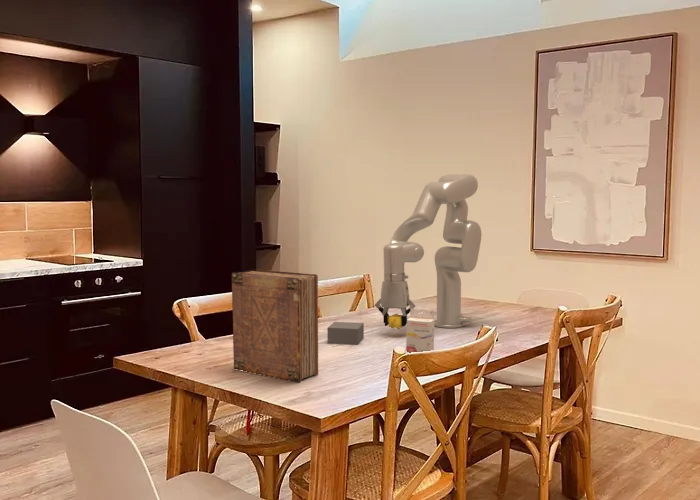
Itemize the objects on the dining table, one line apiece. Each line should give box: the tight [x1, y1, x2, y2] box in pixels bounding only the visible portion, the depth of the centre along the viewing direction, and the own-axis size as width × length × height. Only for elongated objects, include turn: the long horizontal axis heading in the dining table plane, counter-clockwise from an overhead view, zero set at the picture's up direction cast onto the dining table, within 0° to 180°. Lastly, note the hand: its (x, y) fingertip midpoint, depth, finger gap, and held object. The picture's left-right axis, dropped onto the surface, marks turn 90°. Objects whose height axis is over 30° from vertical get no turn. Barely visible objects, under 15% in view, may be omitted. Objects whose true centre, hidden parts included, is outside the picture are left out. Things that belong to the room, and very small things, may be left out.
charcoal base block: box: [326, 321, 365, 346], centre depth 248 cm, size 11×11×6 cm
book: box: [231, 268, 319, 383], centre depth 204 cm, size 25×9×30 cm, turn 57°
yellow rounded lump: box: [388, 313, 403, 330], centre depth 255 cm, size 8×6×5 cm
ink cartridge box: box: [405, 308, 435, 353], centre depth 228 cm, size 9×5×15 cm, turn 71°
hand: (395, 325), depth 256 cm, fingers closed on yellow rounded lump, 5 cm apart
